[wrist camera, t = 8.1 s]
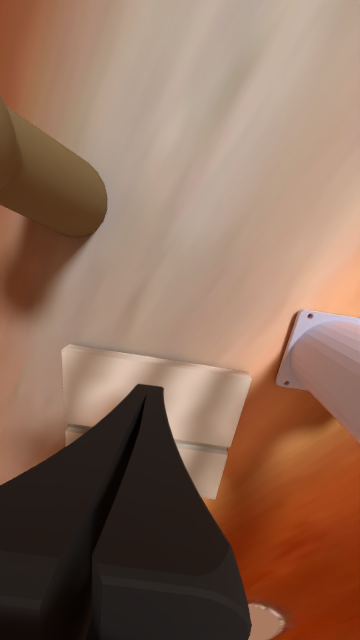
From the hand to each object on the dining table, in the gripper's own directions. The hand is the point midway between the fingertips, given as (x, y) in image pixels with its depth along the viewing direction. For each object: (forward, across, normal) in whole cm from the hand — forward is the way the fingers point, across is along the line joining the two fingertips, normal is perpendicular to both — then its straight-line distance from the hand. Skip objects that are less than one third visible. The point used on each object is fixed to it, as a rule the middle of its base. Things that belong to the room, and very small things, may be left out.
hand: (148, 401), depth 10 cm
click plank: (+9, +1, +7) cm, 12 cm away
